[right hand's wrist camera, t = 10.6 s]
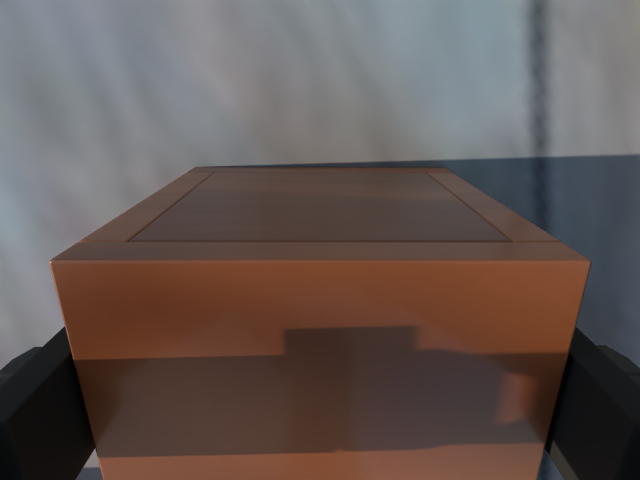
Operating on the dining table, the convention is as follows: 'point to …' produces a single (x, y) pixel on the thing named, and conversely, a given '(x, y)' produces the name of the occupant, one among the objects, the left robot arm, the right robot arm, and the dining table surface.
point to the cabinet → (320, 328)
